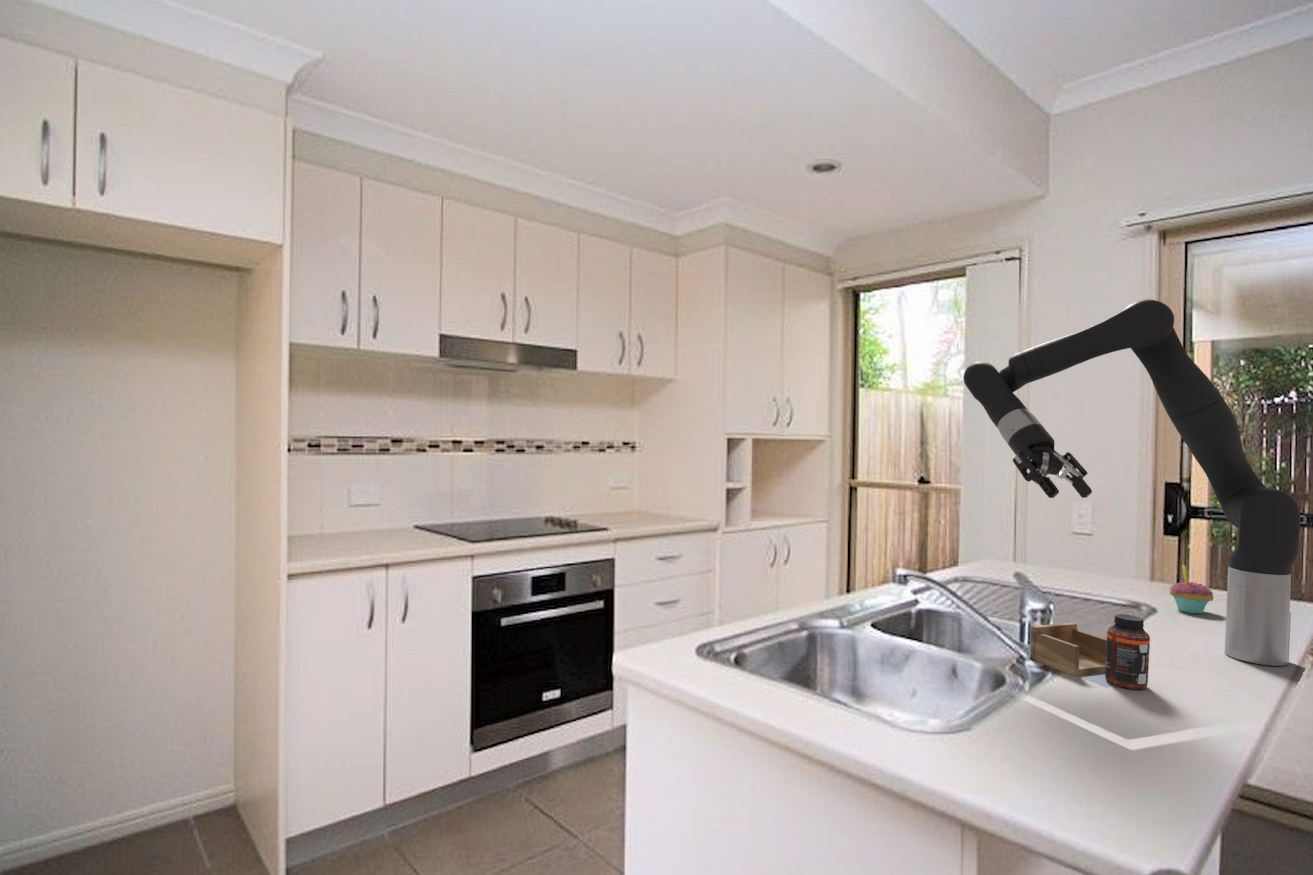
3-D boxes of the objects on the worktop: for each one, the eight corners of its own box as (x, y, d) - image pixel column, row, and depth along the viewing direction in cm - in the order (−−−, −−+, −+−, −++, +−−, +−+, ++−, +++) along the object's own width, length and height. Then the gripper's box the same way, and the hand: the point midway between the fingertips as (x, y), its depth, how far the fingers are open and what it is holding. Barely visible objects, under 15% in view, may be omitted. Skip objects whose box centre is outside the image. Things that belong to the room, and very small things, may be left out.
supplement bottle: (1154, 692, 112) (1158, 623, 112) (1114, 688, 113) (1117, 620, 113) (1137, 679, 118) (1140, 613, 117) (1098, 675, 119) (1101, 610, 119)
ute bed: (1070, 659, 130) (1072, 622, 130) (1116, 675, 122) (1117, 636, 122) (1030, 663, 127) (1031, 626, 127) (1073, 681, 119) (1075, 640, 119)
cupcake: (1181, 614, 166) (1183, 564, 166) (1161, 605, 175) (1163, 558, 175) (1220, 617, 165) (1222, 567, 165) (1199, 608, 173) (1201, 560, 173)
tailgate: (1119, 672, 121) (1178, 694, 111) (1119, 678, 121) (1178, 700, 112) (1081, 677, 118) (1138, 700, 109) (1080, 682, 118) (1138, 706, 109)
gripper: (1009, 421, 140) (1056, 482, 129) (1062, 423, 145) (1111, 482, 134) (987, 446, 145) (1031, 507, 135) (1039, 447, 150) (1085, 506, 139)
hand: (1071, 495), depth 134 cm, fingers open, 8 cm apart
